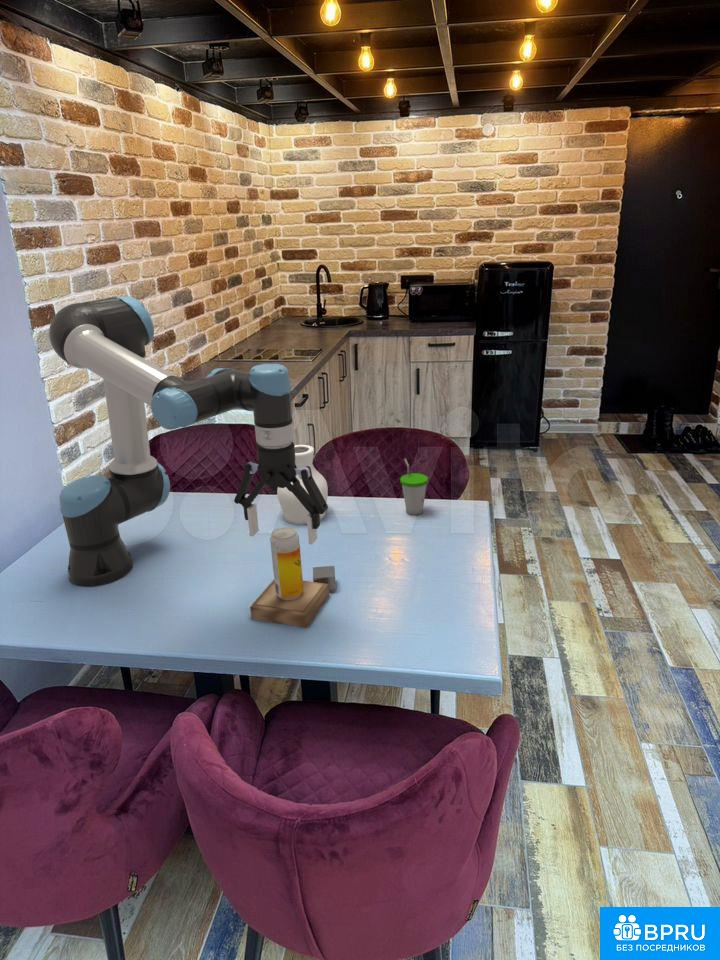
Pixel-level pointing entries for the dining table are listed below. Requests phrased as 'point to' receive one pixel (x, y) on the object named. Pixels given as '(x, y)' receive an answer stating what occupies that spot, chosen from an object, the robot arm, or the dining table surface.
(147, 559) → the dining table surface
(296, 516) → the vase
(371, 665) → the dining table surface
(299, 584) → the beer can
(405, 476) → the cup
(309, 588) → the plinth
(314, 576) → the steel block
